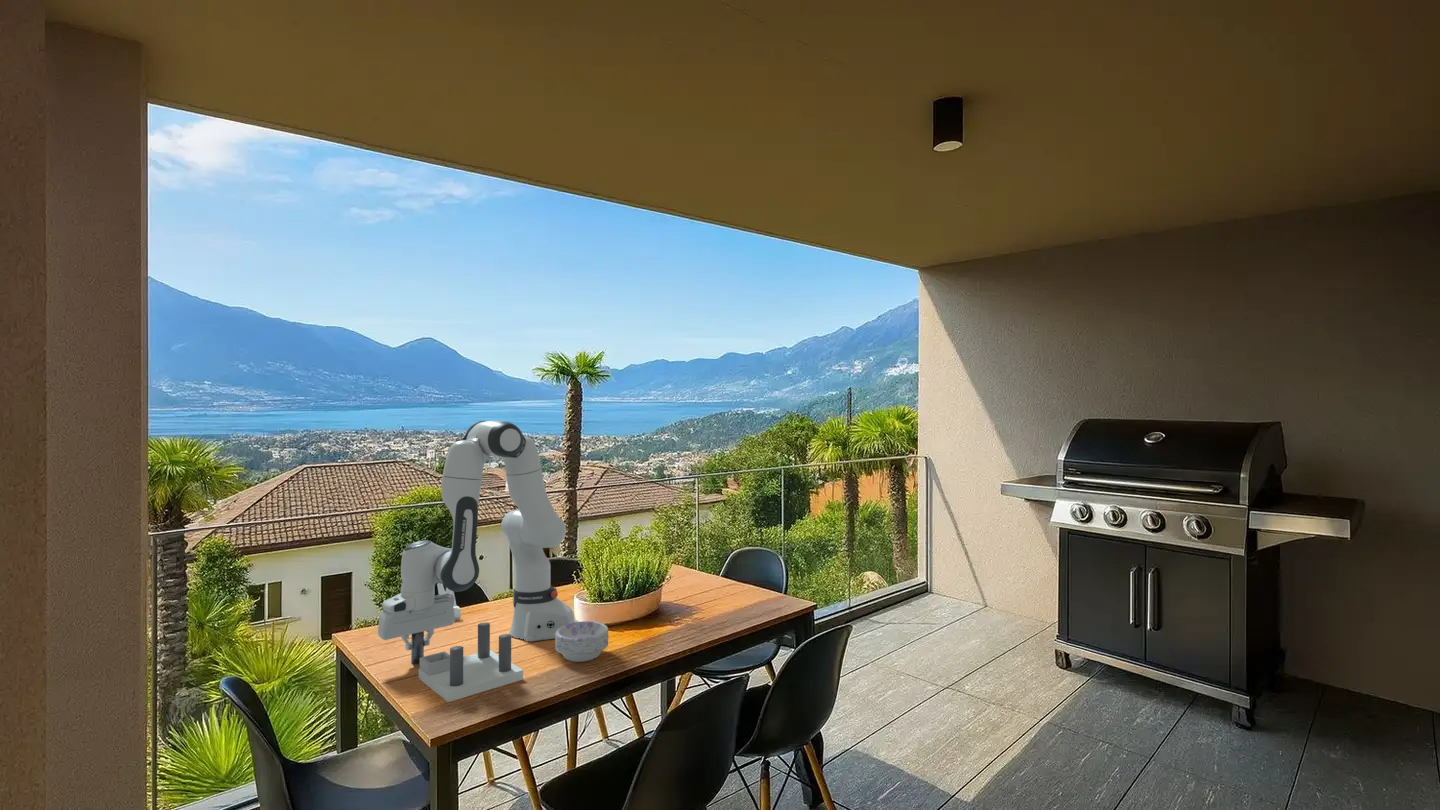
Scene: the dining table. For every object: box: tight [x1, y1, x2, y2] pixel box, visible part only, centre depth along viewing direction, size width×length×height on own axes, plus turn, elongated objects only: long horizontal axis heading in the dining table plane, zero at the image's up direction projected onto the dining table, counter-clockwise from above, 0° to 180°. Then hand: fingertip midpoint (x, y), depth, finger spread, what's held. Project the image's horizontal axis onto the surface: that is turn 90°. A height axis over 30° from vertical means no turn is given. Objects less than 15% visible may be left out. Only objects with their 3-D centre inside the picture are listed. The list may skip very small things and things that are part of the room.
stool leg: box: [410, 631, 425, 665], centre depth 189 cm, size 3×3×9 cm
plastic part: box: [436, 582, 462, 621], centre depth 227 cm, size 8×10×12 cm
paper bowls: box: [554, 620, 609, 663], centre depth 193 cm, size 15×15×8 cm
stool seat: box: [418, 622, 524, 703], centre depth 177 cm, size 20×20×12 cm
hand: (417, 647), depth 189 cm, fingers closed on stool leg, 3 cm apart
